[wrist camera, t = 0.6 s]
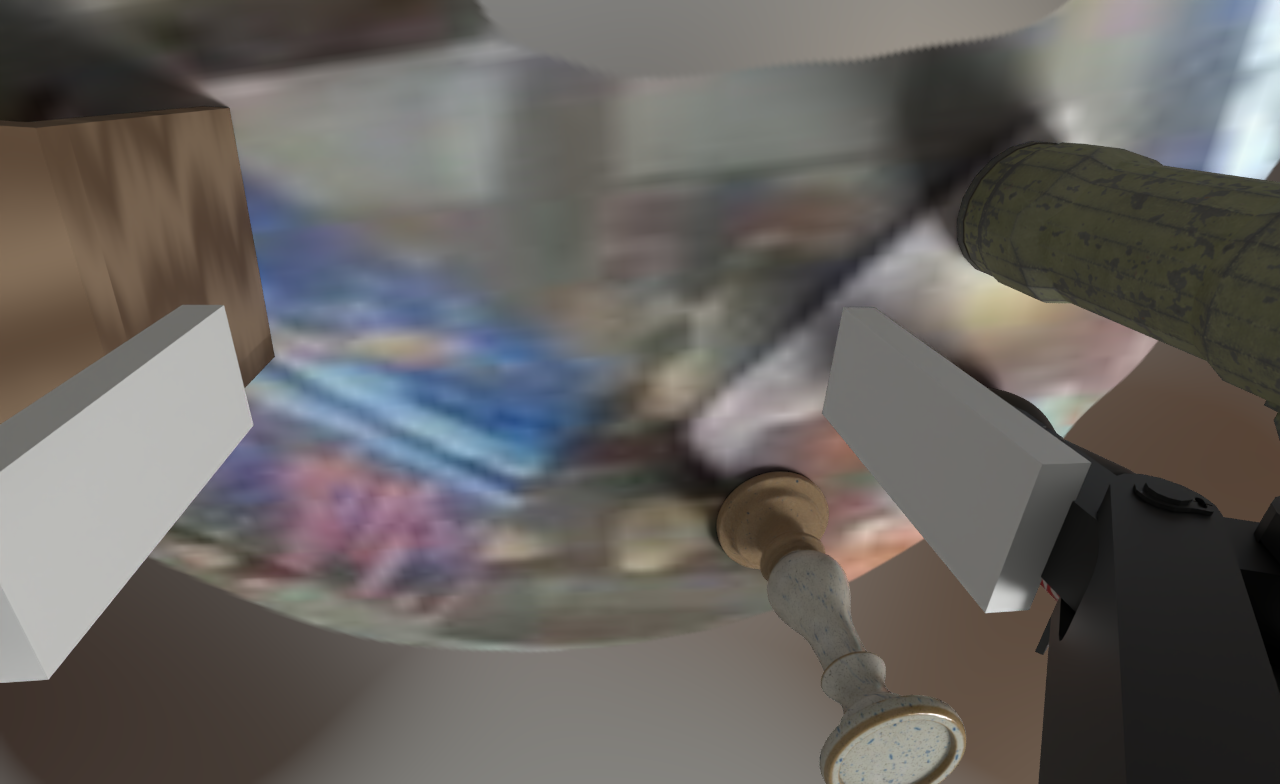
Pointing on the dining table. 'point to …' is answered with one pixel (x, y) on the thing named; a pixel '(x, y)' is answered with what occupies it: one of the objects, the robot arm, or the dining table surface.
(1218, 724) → the robot arm
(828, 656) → the candle holder
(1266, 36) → the dining table surface
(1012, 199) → the thermos
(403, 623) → the dining table surface
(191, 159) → the wooden cubby
